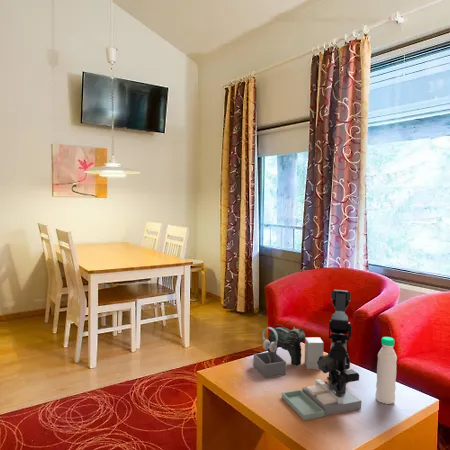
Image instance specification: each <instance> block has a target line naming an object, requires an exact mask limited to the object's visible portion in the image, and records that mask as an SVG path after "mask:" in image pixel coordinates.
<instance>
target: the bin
mask: <svg viewBox="0 0 450 450" xmlns="http://www.w3.org/2000/svg"><path fill="white" fill-rule="evenodd" d="M281 398H282V400H283V401H284V402H285V403H286V404H287V405H288V406H289V407H290V408H291V409H292V410H293V411H294V412H295V413H296V414H297V415H298V416H299V417H300V418H301V419H302V420H303V421H310V420H314V419H320V418H324V417H325V416H326V415H325V411H324V410H323V409H322V408H321V407H319V406H318V405H317V404H316V403H315V402H314V401H313V400H312V399H311V398H309V397H308V396H307V395H306V394H305V393H304V392H303V391H302V389H295V390H290V391H284V392H281Z"/></svg>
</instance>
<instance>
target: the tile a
mask: <svg viewBox="0 0 450 450" xmlns="http://www.w3.org/2000/svg"><path fill="white" fill-rule="evenodd" d="M306 387H307V390H308V391H309V392H310V393H311V394H312V395H319V394H325V390H323V389H322V388H321V387H320V386H319V385H316V384H314V385H308V386H306Z"/></svg>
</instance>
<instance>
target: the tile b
mask: <svg viewBox="0 0 450 450" xmlns="http://www.w3.org/2000/svg"><path fill="white" fill-rule="evenodd" d="M317 399H318V400H319V401H320V402H322V403H323V404H324V405H325V404H330V403H335V402H336V399H335V398H333V397H332V396H331V395H330V394H328V393H325V394H320V395H317Z"/></svg>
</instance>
